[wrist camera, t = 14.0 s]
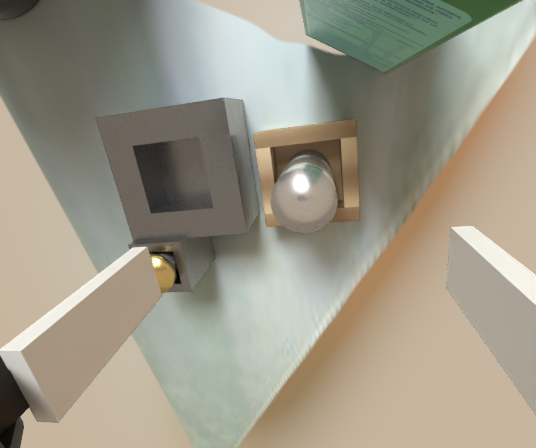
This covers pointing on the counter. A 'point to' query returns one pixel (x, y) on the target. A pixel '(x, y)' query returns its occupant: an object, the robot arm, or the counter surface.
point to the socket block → (183, 179)
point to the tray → (319, 139)
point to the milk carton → (393, 26)
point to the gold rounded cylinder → (164, 269)
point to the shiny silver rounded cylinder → (305, 193)
